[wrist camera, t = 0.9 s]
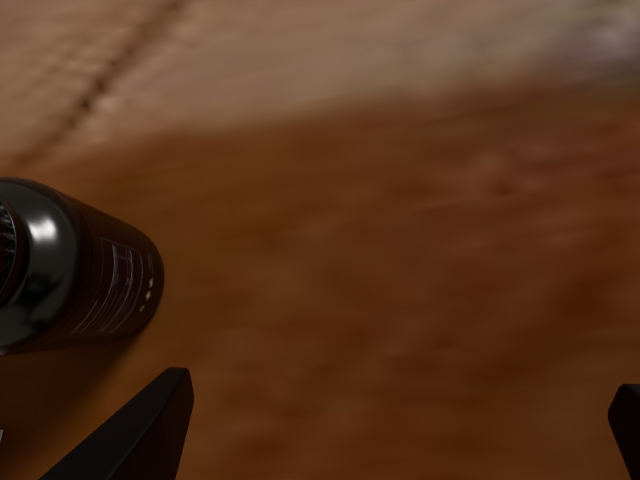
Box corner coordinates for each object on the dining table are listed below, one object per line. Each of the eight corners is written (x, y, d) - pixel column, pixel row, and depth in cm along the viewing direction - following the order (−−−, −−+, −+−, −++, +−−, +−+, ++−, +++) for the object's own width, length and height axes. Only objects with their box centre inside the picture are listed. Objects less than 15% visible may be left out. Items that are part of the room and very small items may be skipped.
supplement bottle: (30, 327, 24) (-270, 332, 12) (74, 211, 25) (-160, 111, 13) (147, 359, 23) (-47, 398, 11) (185, 239, 24) (46, 161, 13)
